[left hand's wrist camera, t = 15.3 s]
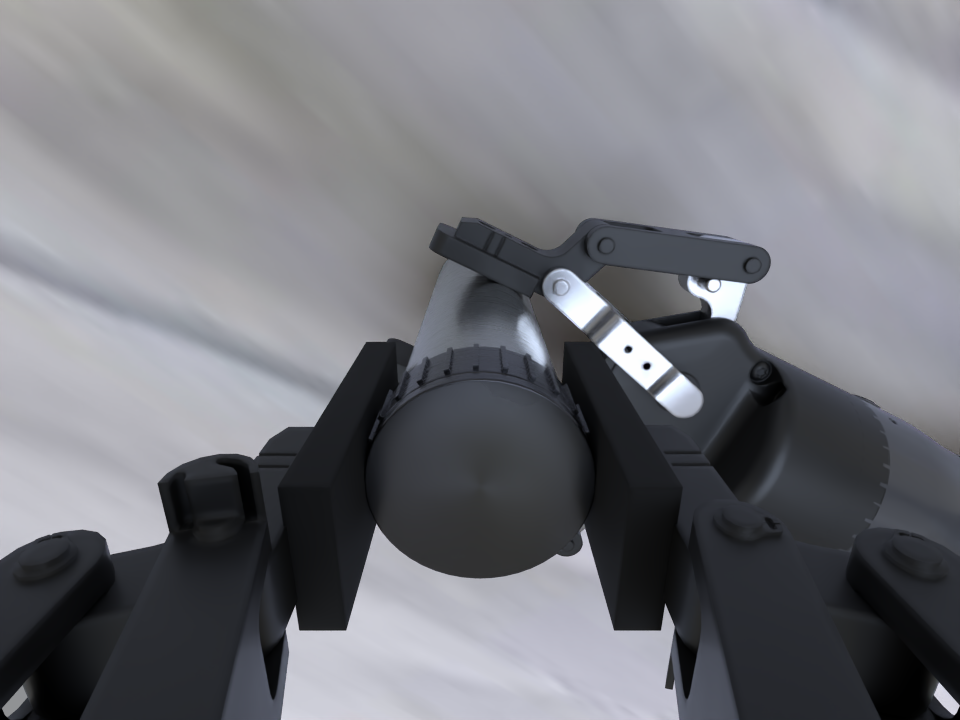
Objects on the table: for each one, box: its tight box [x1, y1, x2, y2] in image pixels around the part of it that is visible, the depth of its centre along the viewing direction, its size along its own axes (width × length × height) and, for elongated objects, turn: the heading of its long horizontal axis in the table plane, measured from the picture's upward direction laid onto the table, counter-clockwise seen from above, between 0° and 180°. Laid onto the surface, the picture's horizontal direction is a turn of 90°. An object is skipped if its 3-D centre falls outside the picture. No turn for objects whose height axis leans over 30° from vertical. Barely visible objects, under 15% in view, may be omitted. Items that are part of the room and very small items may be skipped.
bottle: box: [406, 259, 557, 377], centre depth 18 cm, size 4×4×16 cm
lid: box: [364, 344, 596, 578], centre depth 11 cm, size 4×4×2 cm
